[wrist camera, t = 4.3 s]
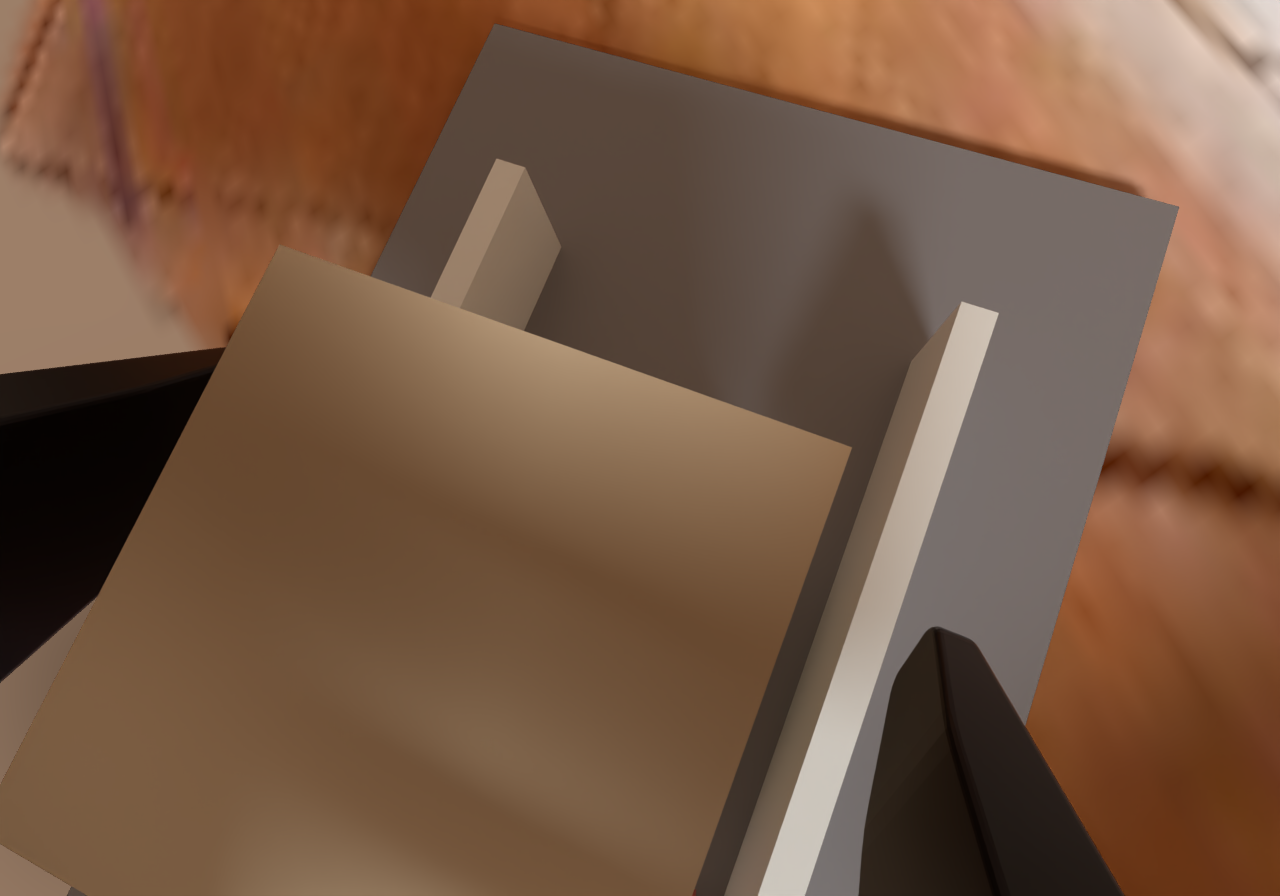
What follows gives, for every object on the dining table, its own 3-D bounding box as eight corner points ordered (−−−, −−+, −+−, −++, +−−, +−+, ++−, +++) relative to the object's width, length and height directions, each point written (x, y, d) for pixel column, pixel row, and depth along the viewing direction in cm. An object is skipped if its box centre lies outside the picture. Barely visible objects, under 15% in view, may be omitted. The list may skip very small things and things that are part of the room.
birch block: (674, 785, 13) (586, 1192, 4) (445, 678, 14) (-24, 829, 5) (766, 538, 14) (851, 448, 5) (542, 451, 15) (280, 245, 6)
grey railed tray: (734, 1621, 11) (742, 2139, 7) (-11, 1110, 14) (-275, 1299, 10) (1155, 226, 15) (1299, 107, 11) (504, 48, 18) (448, -95, 14)
